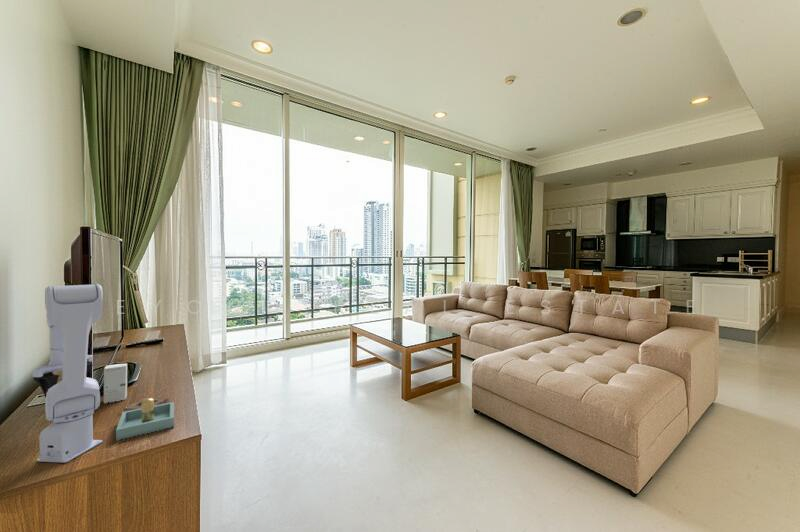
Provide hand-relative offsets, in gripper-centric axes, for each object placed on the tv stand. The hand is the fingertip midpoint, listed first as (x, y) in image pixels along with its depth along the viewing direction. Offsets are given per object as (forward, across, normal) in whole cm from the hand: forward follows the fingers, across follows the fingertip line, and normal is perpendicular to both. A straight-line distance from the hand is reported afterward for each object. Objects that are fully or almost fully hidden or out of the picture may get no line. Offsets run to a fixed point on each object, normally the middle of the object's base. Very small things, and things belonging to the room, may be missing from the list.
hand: (65, 393), depth 98 cm
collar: (+10, -15, +12) cm, 22 cm away
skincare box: (+11, -20, -4) cm, 23 cm away
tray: (+10, -4, +22) cm, 25 cm away
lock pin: (+10, -4, +22) cm, 24 cm away
